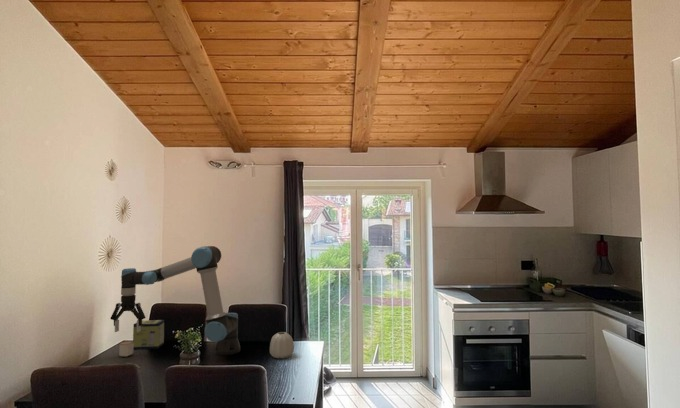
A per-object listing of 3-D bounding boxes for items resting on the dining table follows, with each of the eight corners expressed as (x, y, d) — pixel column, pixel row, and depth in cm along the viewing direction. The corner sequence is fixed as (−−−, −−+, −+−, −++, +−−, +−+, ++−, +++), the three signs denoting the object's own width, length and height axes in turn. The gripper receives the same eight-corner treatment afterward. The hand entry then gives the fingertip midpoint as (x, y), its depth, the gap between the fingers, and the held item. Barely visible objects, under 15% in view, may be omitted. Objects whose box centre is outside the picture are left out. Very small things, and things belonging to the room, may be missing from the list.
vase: (281, 351, 233) (281, 328, 234) (298, 355, 225) (298, 332, 226) (264, 357, 222) (264, 333, 223) (281, 362, 214) (282, 337, 215)
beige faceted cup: (133, 353, 228) (133, 341, 229) (127, 356, 223) (128, 344, 223) (124, 353, 228) (125, 341, 229) (119, 355, 223) (119, 344, 224)
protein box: (138, 344, 249) (139, 320, 250) (164, 344, 251) (164, 319, 252) (132, 349, 239) (132, 324, 240) (158, 348, 240) (159, 323, 241)
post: (129, 355, 227) (130, 343, 227) (126, 357, 224) (127, 344, 225) (125, 355, 227) (125, 343, 228) (122, 356, 224) (123, 344, 225)
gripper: (152, 293, 231) (151, 329, 229) (112, 294, 233) (112, 329, 231) (144, 295, 223) (144, 333, 222) (104, 296, 226) (103, 333, 224)
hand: (127, 331), depth 227 cm, fingers open, 13 cm apart
